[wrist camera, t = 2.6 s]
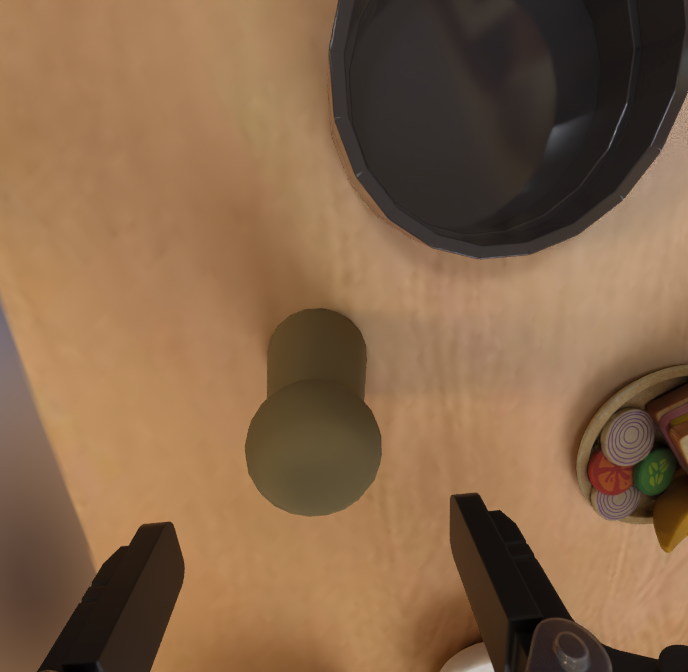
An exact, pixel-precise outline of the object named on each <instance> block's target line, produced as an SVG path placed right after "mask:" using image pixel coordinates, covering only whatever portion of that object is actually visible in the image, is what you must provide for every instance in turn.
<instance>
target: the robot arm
mask: <svg viewBox="0 0 688 672" xmlns="http://www.w3.org/2000/svg"><path fill="white" fill-rule="evenodd" d="M450 544H451V549H452V554H453V557H454V561H455V563H456V566H457V569H458V572H459V575H460V577H461V580H462V583H463V586H464V588H465V591H466V594H467V597H468V600H469V602H470V605H471V608H472V611H473V613H474V616H475V619H476V622H477V625H478V627H479V630H480V633H481V636H482V638H483V641H484V644H485V647H486V650H487V652H488V655H489V658H490V661H491V663H492V666H493V669H494V672H688V646H685V645H671V646H668V647H666V648H665V649H663V650H662V652H661V653H660V655H659V659H654V658H649V657H645V656H641V655H636V654H632V653H628V652H624V651H620V650H616V649H613V648H611V647H608V646H606V645H604V644H602V643H600V641H599V640H598V639H597V638H596V637H595V636H594V635H593V634H592V633H591V632H589V631H588V630H587V629H585V628H584V627H583V626H581V625H579V624H577V623H576V622H575V621H574V620H573V619H572V617H571V616H570V614H569V613H568V611H567V609H566V608H565V606H564V604H563V603H562V601H561V599H560V598H559V596H558V594H557V592H556V591H555V589H554V587H553V586H552V584H551V582H550V581H549V579H548V577H547V576H546V574H545V572H544V570H543V569H542V567H541V565H540V564H539V562H538V560H537V559H535V557H534V554H533V552H532V550H531V549H530V547H529V545H528V544H526V540H525V538H524V537H523V535H522V533H521V532H520V530H519V528H518V527H517V525H516V523H514V522H513V521H512V520H511V519H510V518H509V517H507V516H506V515H505V514H504V513H503V512H502V511H500V510H497V511H488V510H487V508H486V506H485V504H484V502H483V500H482V499H481V497H480V495H479V494H478V493H466V494H456V495H451V497H450ZM184 569H185V568H184V560H183V556H182V553H181V549H180V546H179V542H178V538H177V535H176V531H175V528H174V525H173V523H172V522H160V523H150V524H143V525H141V526H140V527H139V529H138V530H137V532H136V534H135V536H134V537H133V539H132V541H131V543H130V544H129V546H122V547H120V548H119V549H118V550H117V551H116V552H115V553H114V554H113V555H112V556H111V557H110V558H109V559H108V560H107V561H106V562H105V563H104V564H103V565H102V567H101V568H100V570H99V572H98V573H97V575H96V577H95V578H94V580H93V581H92V586H91V587H89V588H88V590H87V591H86V593H85V595H84V596H83V598H82V602H81V603H79V604H78V606H77V608H76V609H75V611H74V612H73V614H72V616H71V617H70V619H69V621H68V622H67V624H66V626H65V627H64V629H63V630H62V632H61V634H60V635H59V637H58V639H57V640H56V642H55V644H54V645H53V647H52V648H51V650H50V652H49V653H48V655H47V657H46V658H45V660H44V662H43V663H42V665H41V666H40V668H39V669H38V671H37V672H150V670H151V668H152V665H153V662H154V660H155V657H156V654H157V651H158V649H159V646H160V643H161V641H162V638H163V635H164V633H165V630H166V627H167V625H168V622H169V619H170V617H171V614H172V611H173V609H174V606H175V603H176V601H177V598H178V595H179V592H180V590H181V587H182V584H183V579H184Z"/></svg>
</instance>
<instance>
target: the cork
mask: <svg viewBox="0 0 688 672" xmlns="http://www.w3.org/2000/svg"><path fill="white" fill-rule="evenodd" d="M366 361H367V358H366V344H365V342H364V339H363V337H362V334H361V332H360V331H359V329H358V328H357V327H356V326H355V325H354V324H353V322H352V321H351V320H349V319H348V318H346V317H344V316H343V315H341V314H339V313H338V312H334V311H330V310H326V309H307V310H303V311H301V312H298V313H295V314H293V315H291V316H289V317H288V318H287V319H286V320H284V321H283V322H282V323H281V324H280V325H278V327H277V329H276V330H275V332H274V334H273V335H272V337H271V339H270V344H269V348H268V359H267V399H266V400H265V401H264V402H263V403H262V405H261V406H260V408H259V409H258V411H257V412H256V414H255V416H254V417H253V419H252V420H251V423H250V426H249V429H248V434H247V439H246V443H245V454H246V461H247V467H248V473H249V475H250V477H251V479H252V480H253V482H254V484H255V485H256V487H257V489H258V490H259V492H260V493H261V494H262V495H263V496H264V497H265V498H266V499H267V500H269V501H270V502H271V503H272V504H273V505H274V506H276V507H278V508H280V509H282V510H285V511H287V512H289V513H291V514H297V515H303V516H309V517H310V516H322V515H329V514H332V513H335V512H338V511H340V510H343V509H345V508H347V507H348V506H350V505H351V504H353V503H354V502H355V501H357V500H358V499H359V498H360V497H361V496H362V495H363V494H364V492H365V491H366V490H367V488H368V487H369V486H370V485H371V483H372V482H373V481H374V479H375V477H376V474H377V471H378V468H379V465H380V461H381V455H382V451H381V434H380V430H379V427H378V425H377V422H376V420H375V417H374V415H373V413H372V411H371V409H370V408H369V407H368V406H367V405H366V404H365V403H364V394H365V378H366Z"/></svg>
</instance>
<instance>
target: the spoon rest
mask: <svg viewBox="0 0 688 672" xmlns="http://www.w3.org/2000/svg"><path fill="white" fill-rule="evenodd" d="M440 672H494V669H493V666H492V663H491V661H490V658H489V655H488V652H487V650H486V647H485V644H484V642H482V643H478V644H474V645H472V646H470V647H467V648H465V649H463V650H461V651H460V652H458V653H457V654H455V655H454V656H453V657H452V658H450V659H449V660H448V661H447V662H446V663H445V664H444V666H443V667H442V668H441V670H440Z"/></svg>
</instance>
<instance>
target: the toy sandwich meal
mask: <svg viewBox="0 0 688 672" xmlns="http://www.w3.org/2000/svg"><path fill="white" fill-rule="evenodd" d="M576 473H577V480H578V484H579V487H580V489H581V492H582V494H583V495H584V497H585V499H586V500H587V501H588V502H589V504H590V505H591V506H592V507H593V508H594V510H595V512H596V513H597V514H598V515H599V516H601V517H602V518H604V519H606V520H609V521H620V522H625V523H631V524H654V528H655V532H656V535H657V538H658V541H659V543H660V546H661V548H662V549H663V550H664V551H665V552H666V553H670V552H671V551H672V550H673V549H674V548H675V547H676V546H677V545H678V544H679V542H681V541H682V540H683V539H684V538H685V537H686V536H688V364H686V365H679V366H674V367H669V368H666V369H662V370H659V371H656V372H653V373H651V374H649V375H646V376H644V377H642V378H640V379H638V380H636V381H634V382H632V383H630V384H629V385H627V386H625V387H624V388H622V389H621V390H619V391H618V392H617V393H615V394H614V395H613V396H612V397H611V398H609V399H608V400H607V401H606V402H605V403H604V404H603V405H602V406H601V407H600V409H599V410H598V411H597V412H596V413H595V415H594V416H593V418H592V419H591V421H590V422H589V424H588V426H587V428H586V430H585V433H584V435H583V437H582V440H581V443H580V446H579V449H578V454H577V461H576Z"/></svg>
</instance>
